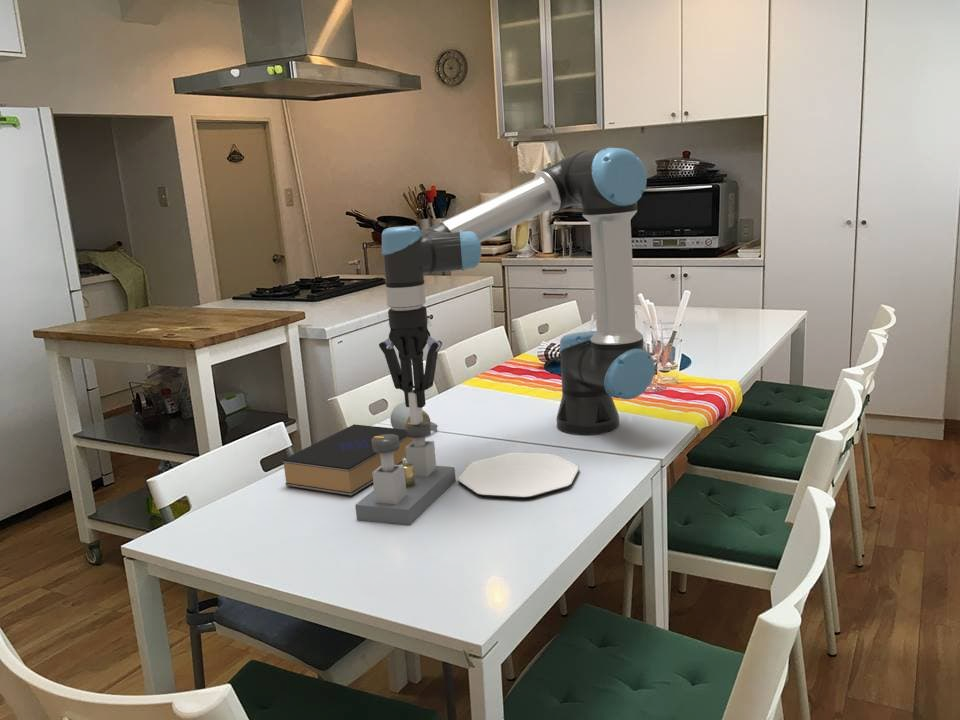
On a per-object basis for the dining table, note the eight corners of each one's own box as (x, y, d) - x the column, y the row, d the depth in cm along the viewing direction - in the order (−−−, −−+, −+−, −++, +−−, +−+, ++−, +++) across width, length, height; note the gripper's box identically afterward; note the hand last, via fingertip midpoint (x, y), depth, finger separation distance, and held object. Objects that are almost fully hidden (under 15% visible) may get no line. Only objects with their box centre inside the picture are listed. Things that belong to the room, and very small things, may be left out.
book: (285, 489, 171) (281, 459, 169) (356, 450, 192) (353, 424, 191) (352, 499, 163) (348, 468, 161) (418, 458, 184) (415, 430, 183)
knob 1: (407, 474, 153) (402, 433, 151) (395, 484, 149) (390, 442, 147) (383, 473, 155) (379, 432, 153) (371, 482, 150) (366, 440, 149)
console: (455, 480, 168) (452, 439, 166) (409, 524, 148) (405, 478, 146) (407, 477, 172) (403, 436, 170) (356, 519, 152) (351, 474, 150)
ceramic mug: (408, 442, 194) (406, 411, 193) (391, 435, 201) (388, 405, 199) (444, 432, 200) (442, 402, 199) (426, 425, 207) (424, 396, 205)
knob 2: (437, 458, 166) (434, 420, 164) (427, 467, 162) (423, 427, 160) (415, 457, 168) (411, 419, 166) (404, 465, 163) (401, 426, 162)
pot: (417, 482, 160) (414, 456, 159) (410, 488, 157) (408, 461, 156) (403, 481, 161) (401, 455, 160) (397, 487, 158) (394, 460, 157)
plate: (496, 512, 151) (495, 505, 151) (443, 475, 172) (442, 469, 172) (599, 483, 162) (599, 476, 161) (537, 451, 182) (537, 445, 182)
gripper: (445, 303, 159) (453, 418, 164) (386, 303, 163) (396, 415, 169) (429, 310, 152) (439, 429, 157) (368, 310, 157) (379, 426, 162)
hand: (417, 422), depth 163 cm, fingers closed
